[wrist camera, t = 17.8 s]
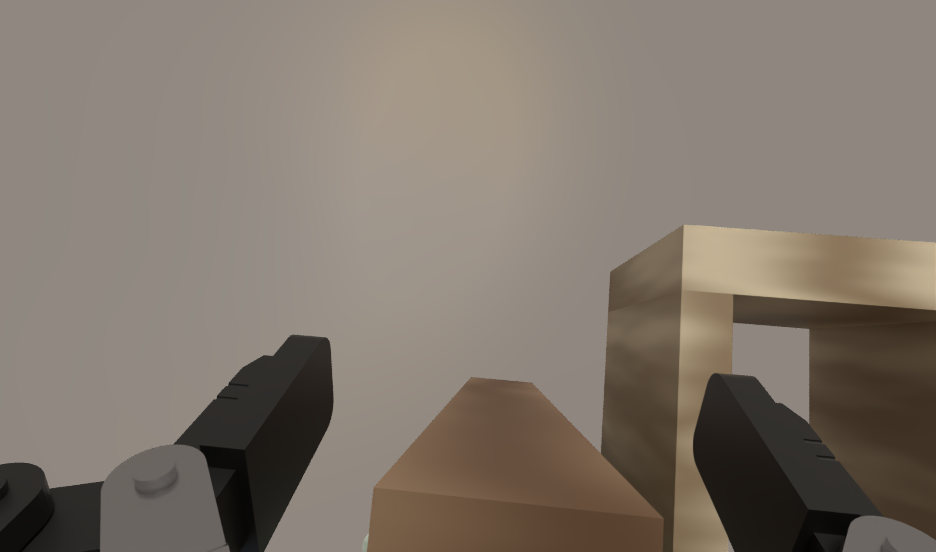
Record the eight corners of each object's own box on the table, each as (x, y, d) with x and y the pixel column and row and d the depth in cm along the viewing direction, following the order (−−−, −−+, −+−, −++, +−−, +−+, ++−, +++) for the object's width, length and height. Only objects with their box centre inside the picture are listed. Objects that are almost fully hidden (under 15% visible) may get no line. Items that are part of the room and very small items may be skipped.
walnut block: (527, 445, 29) (531, 382, 30) (651, 853, 6) (663, 519, 6) (465, 439, 30) (471, 377, 30) (340, 805, 6) (374, 487, 6)
